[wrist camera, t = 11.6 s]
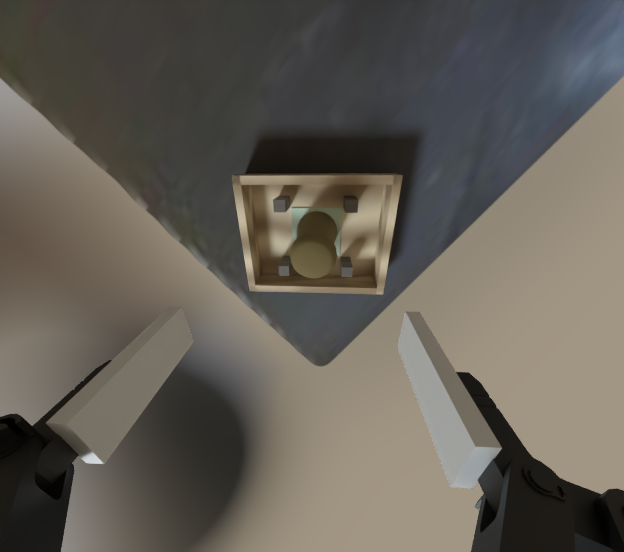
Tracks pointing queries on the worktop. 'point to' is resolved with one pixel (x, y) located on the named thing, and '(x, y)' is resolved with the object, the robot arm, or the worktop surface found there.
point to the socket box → (325, 198)
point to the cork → (314, 245)
